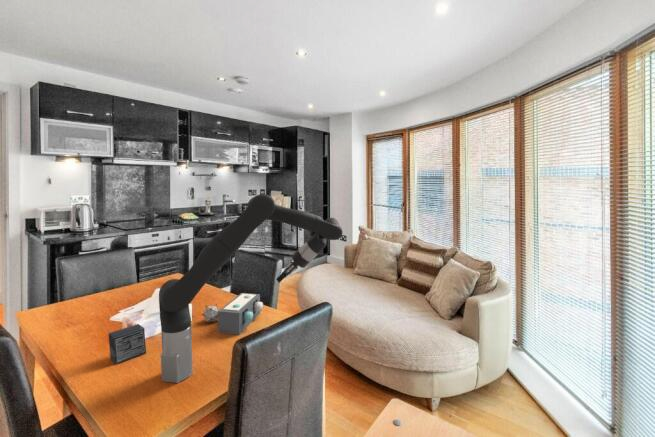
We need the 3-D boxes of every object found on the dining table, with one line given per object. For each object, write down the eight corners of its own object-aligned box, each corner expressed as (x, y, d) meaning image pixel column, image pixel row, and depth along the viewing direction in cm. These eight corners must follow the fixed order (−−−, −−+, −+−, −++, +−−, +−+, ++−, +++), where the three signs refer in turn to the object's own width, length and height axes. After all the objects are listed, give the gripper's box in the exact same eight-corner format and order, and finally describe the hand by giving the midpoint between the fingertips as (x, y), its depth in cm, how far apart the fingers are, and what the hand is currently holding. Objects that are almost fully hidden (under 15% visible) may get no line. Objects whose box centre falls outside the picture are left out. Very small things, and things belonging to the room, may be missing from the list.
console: (239, 334, 139) (239, 311, 138) (218, 332, 141) (217, 309, 140) (260, 313, 163) (259, 292, 162) (241, 311, 164) (241, 291, 163)
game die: (213, 330, 151) (212, 319, 145) (198, 322, 152) (196, 311, 146) (224, 315, 158) (224, 304, 151) (210, 308, 159) (209, 297, 152)
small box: (140, 347, 128) (138, 322, 126) (146, 353, 123) (145, 327, 122) (109, 358, 119) (107, 332, 118) (115, 365, 115) (113, 337, 114)
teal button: (249, 323, 142) (249, 314, 141) (243, 322, 142) (242, 313, 142) (253, 319, 146) (253, 310, 146) (247, 318, 147) (247, 309, 146)
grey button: (259, 312, 154) (259, 304, 153) (253, 312, 154) (253, 303, 154) (262, 309, 158) (262, 300, 158) (257, 308, 159) (257, 300, 158)
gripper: (303, 245, 143) (277, 270, 146) (295, 251, 130) (267, 278, 133) (314, 257, 143) (288, 282, 146) (307, 264, 130) (279, 291, 133)
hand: (278, 280), depth 140 cm, fingers closed
